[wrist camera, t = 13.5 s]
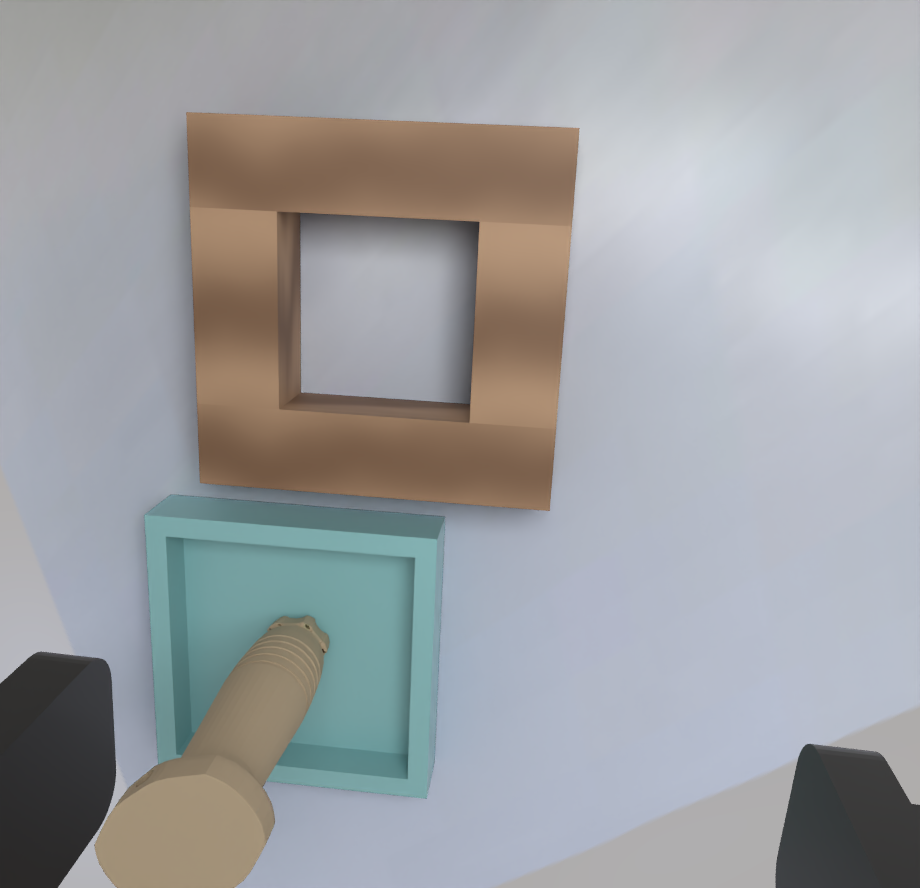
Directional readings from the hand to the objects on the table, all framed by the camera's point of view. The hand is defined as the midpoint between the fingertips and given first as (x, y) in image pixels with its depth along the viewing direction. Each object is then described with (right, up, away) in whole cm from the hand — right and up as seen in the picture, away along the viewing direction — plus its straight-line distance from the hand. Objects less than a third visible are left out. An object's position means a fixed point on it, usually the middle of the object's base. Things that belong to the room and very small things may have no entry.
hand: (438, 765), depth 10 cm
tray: (-8, -6, +36) cm, 37 cm away
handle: (-8, -6, +35) cm, 36 cm away
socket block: (-3, +10, +31) cm, 32 cm away
